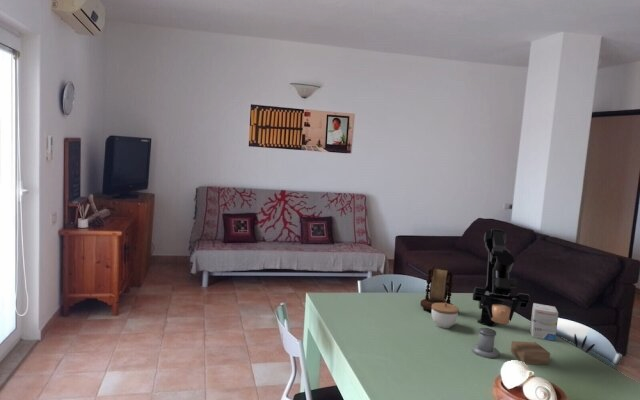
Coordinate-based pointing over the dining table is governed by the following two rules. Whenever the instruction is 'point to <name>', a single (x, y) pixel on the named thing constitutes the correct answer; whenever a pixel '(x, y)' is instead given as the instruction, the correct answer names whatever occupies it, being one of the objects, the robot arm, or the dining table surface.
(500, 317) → the cap
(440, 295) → the scroll
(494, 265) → the robot arm
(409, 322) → the dining table surface
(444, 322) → the lidded jar
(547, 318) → the ink box
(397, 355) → the dining table surface
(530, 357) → the stand
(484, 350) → the grey pedestal post
